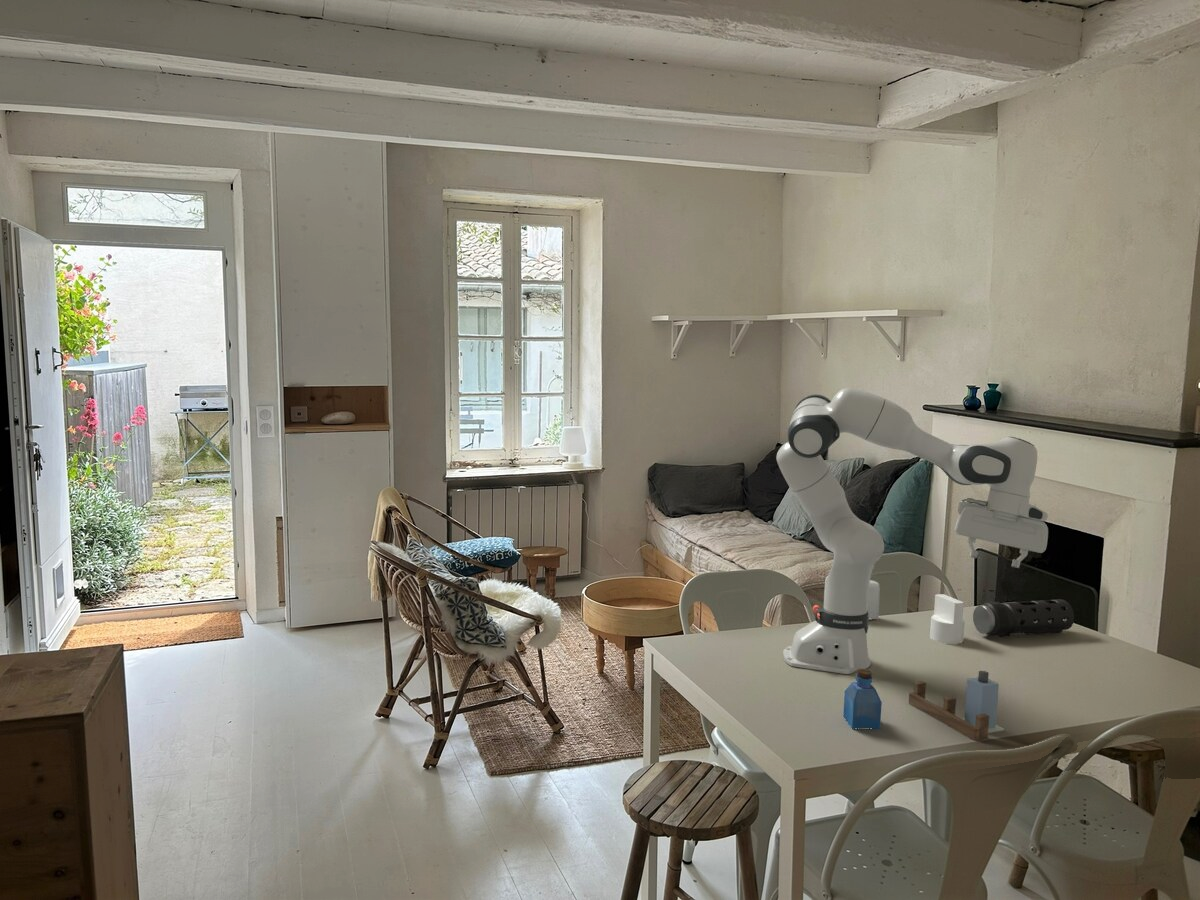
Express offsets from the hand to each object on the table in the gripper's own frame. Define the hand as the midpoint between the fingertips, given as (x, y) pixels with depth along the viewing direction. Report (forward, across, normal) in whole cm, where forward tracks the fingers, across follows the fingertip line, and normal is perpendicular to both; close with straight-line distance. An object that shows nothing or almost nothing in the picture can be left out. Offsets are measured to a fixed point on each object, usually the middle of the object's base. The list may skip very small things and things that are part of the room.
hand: (993, 562), depth 211 cm
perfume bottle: (+41, -23, -22) cm, 52 cm away
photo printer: (+29, -24, +57) cm, 68 cm away
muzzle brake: (+22, +21, +57) cm, 64 cm away
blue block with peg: (+35, +2, -15) cm, 38 cm away
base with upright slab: (+27, 0, +46) cm, 53 cm away
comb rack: (+36, -2, -12) cm, 38 cm away
